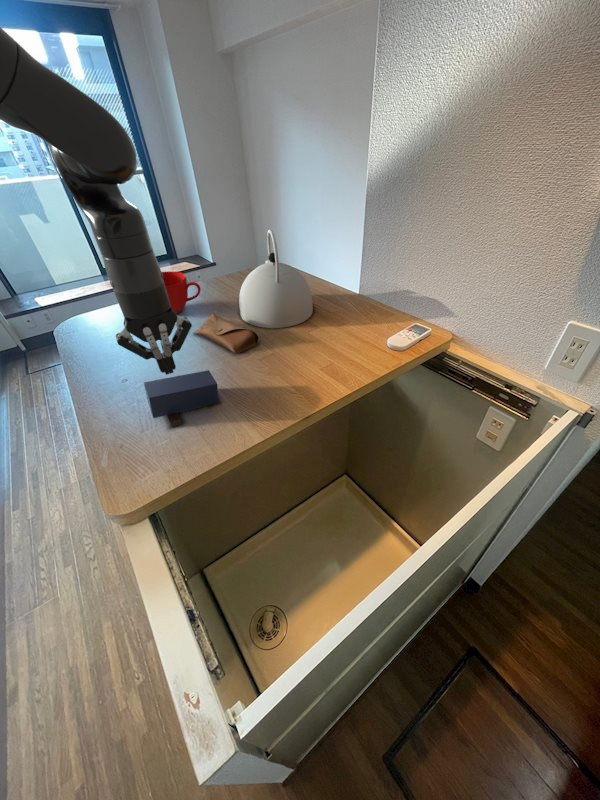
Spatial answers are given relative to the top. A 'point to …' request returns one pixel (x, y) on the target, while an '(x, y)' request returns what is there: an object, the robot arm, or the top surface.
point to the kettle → (275, 294)
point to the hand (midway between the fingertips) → (168, 371)
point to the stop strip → (174, 419)
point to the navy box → (181, 393)
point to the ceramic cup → (178, 289)
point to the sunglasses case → (228, 334)
